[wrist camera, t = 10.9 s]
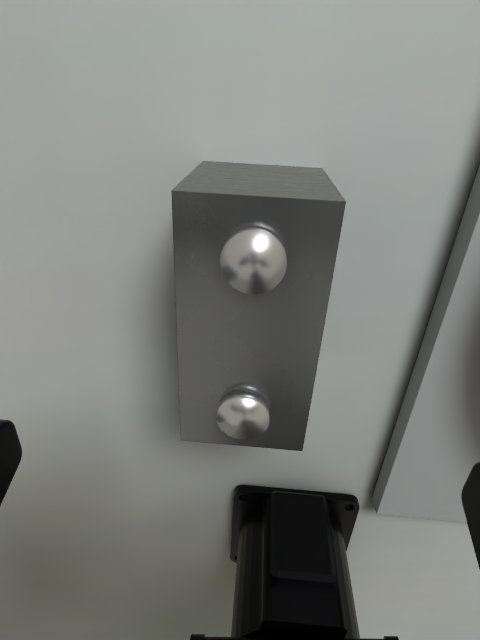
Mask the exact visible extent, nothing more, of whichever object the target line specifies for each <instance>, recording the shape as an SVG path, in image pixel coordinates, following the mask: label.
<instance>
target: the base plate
mask: <svg viewBox="0 0 480 640" xmlns="http://www.w3.org/2000/svg"><path fill="white" fill-rule="evenodd" d="M477 462H480V165H479V168H478V171H477V174H476V177H475V181H474V184H473V187H472V190H471V193H470V196H469V199H468V202H467V205H466V208H465V212H464V215H463V218H462V221H461V224H460V227H459V230H458V233H457V236H456V239H455V242H454V246H453V249H452V252H451V255H450V258H449V261H448V264H447V267H446V270H445V273H444V277H443V280H442V283H441V286H440V289H439V292H438V295H437V298H436V301H435V304H434V307H433V311H432V314H431V317H430V320H429V323H428V326H427V329H426V332H425V335H424V338H423V342H422V345H421V348H420V351H419V354H418V357H417V360H416V363H415V366H414V369H413V372H412V376H411V379H410V382H409V385H408V388H407V391H406V394H405V397H404V400H403V403H402V407H401V410H400V413H399V416H398V419H397V422H396V425H395V428H394V431H393V434H392V437H391V441H390V444H389V447H388V450H387V453H386V456H385V459H384V462H383V465H382V468H381V472H380V475H379V478H378V481H377V484H376V487H375V490H374V493H373V496H372V497H373V501H374V505H375V509H376V513H377V514H382V515H393V516H404V517H414V518H425V519H436V520H446V521H457V522H467V520H466V516H465V512H464V509H463V505H462V500H461V493H462V488H463V486H464V484H465V482H466V480H467V478H468V476H469V474H470V472H471V470H472V467H473V466H474V464H476V463H477Z"/></svg>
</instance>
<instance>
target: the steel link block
mask: <svg viewBox="0 0 480 640" xmlns="http://www.w3.org/2000/svg"><path fill="white" fill-rule="evenodd" d="M345 204H346V201H345V200H344V198H343V197H342V195H341V194H340V193H339V191H338V190H337V188H336V187H335V186H334V184H333V183H332V181H331V180H330V179H329V177H328V176H327V174H326V173H325V172H324V170H323V169H322V168H310V167H294V166H277V165H261V164H244V163H228V162H211V161H203V162H202V163H201V164H200V165H198V166H197V167H196V168H195V169H194V170H193V171H192V172H191V173H190V174H189V175H188V176H187V177H186V178H185V179H183V180H182V181H181V182H180V183H179V184H178V185H177V186H176V187H175V188H174V189H173V190H172V215H173V242H174V270H175V297H176V325H177V352H178V380H179V407H180V434H181V440H182V441H194V442H205V443H217V444H228V445H240V446H251V447H263V448H274V449H286V450H298V451H302V450H303V444H304V438H305V433H306V427H307V421H308V415H309V410H310V404H311V398H312V393H313V387H314V381H315V375H316V370H317V364H318V358H319V352H320V347H321V341H322V335H323V330H324V324H325V318H326V312H327V307H328V301H329V295H330V289H331V284H332V278H333V272H334V267H335V261H336V255H337V249H338V244H339V238H340V232H341V226H342V221H343V215H344V209H345Z"/></svg>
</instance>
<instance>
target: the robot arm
mask: <svg viewBox="0 0 480 640" xmlns="http://www.w3.org/2000/svg"><path fill="white" fill-rule="evenodd" d="M21 457H22V448H21V445H20V442H19V438H18V435H17V432H16V429H15V426H14V424H13V423H12V422H11V421H9V420H0V506H1V503H2V501H3V499H4V497H5V494H6V492H7V490H8V488H9V486H10V483H11V481H12V479H13V477H14V474H15V472H16V470H17V468H18V466H19V463H20V461H21ZM461 500H462V505H463V509H464V512H465V516H466V520H467V524H468V527H469V531H470V535H471V539H472V542H473V546H474V550H475V554H476V557H477V561H478V565H479V569H480V462H477V463H476V464H474V466H473V467H472V470H471V472H470V474H469V476H468V478H467V480H466V482H465V484H464V486H463V488H462V493H461ZM358 511H359V503H358V499H357V497H355V496H354V495H348V494H337V493H326V492H316V491H305V490H294V489H283V488H272V487H261V486H250V485H240V486H237V487H236V488H235V493H234V507H233V523H232V539H231V556H230V558H231V560H232V561H233V562H235V563H237V566H236V579H235V592H234V605H233V618H232V631H231V637H205V635H204V634H192V635H191V638H190V640H399V639H398V637H397V636H384V639H360V636H359V630H358V624H357V617H356V611H355V605H354V599H353V593H352V586H351V580H350V574H349V568H348V562H347V555H346V550H347V547H348V544H349V541H350V537H351V534H352V531H353V527H354V524H355V521H356V518H357V514H358Z"/></svg>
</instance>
